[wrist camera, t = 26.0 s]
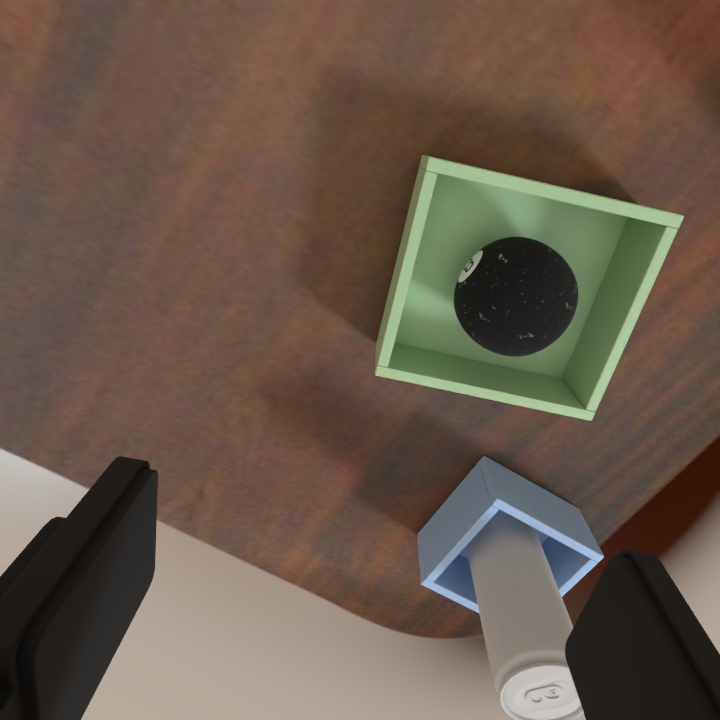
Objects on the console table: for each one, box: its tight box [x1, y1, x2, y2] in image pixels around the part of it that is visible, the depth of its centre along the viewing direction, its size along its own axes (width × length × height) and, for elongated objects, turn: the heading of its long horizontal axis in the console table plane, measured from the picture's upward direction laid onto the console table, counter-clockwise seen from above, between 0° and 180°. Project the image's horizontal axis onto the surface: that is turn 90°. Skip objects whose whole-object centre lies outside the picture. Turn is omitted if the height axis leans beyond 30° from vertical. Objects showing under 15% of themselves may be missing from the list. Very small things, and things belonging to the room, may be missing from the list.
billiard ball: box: [454, 237, 578, 357], centre depth 27 cm, size 6×6×6 cm
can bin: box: [417, 456, 604, 613], centre depth 35 cm, size 8×8×5 cm
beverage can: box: [466, 509, 584, 720], centre depth 31 cm, size 5×5×12 cm
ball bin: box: [375, 155, 684, 421], centre depth 28 cm, size 11×12×5 cm
